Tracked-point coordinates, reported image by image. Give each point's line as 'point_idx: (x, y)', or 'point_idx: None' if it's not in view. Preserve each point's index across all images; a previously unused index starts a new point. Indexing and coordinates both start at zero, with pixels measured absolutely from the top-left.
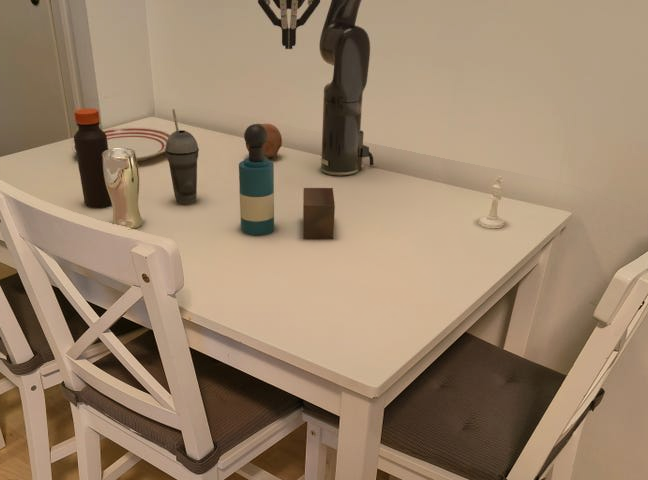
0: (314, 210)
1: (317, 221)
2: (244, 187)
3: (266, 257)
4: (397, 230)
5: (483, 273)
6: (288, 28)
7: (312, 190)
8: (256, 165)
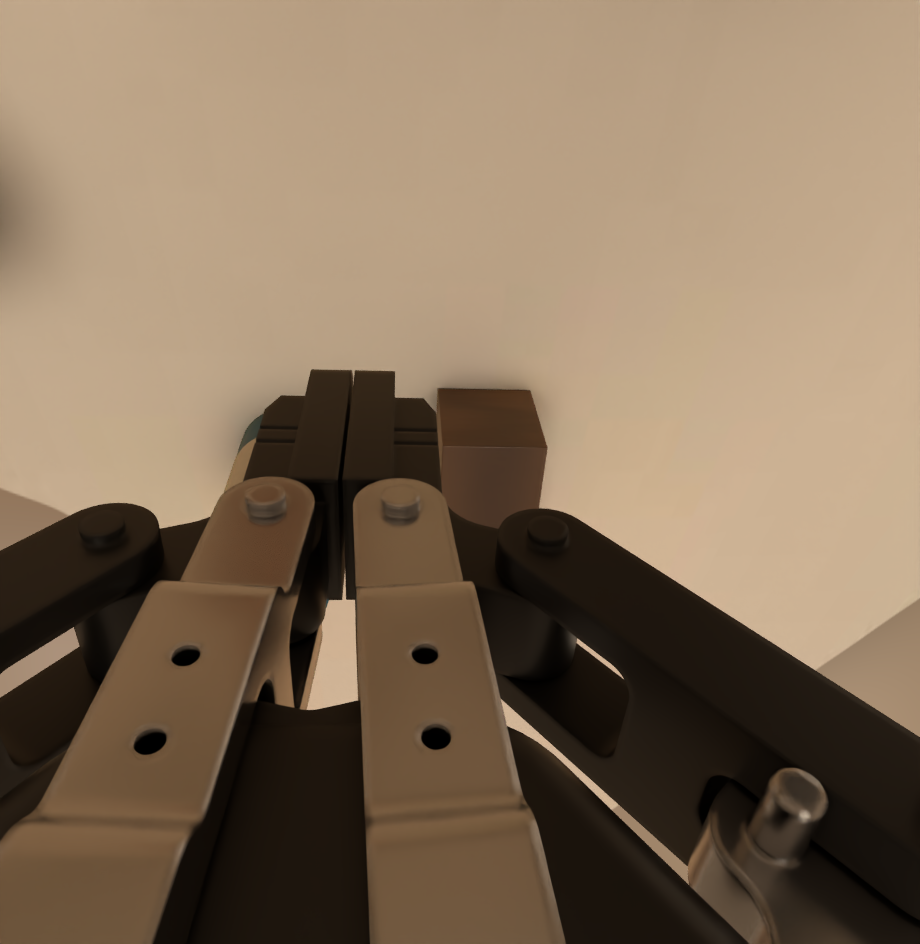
0: None
1: None
2: None
3: (336, 603)
4: (709, 461)
5: (802, 654)
6: (334, 522)
7: (472, 470)
8: None
